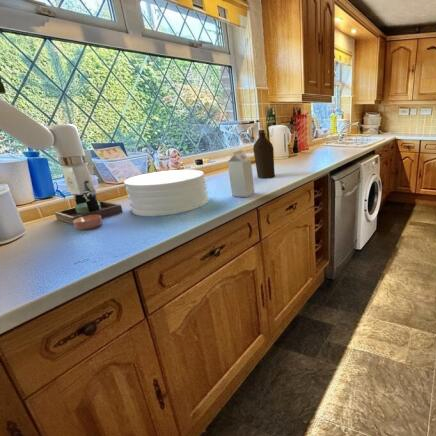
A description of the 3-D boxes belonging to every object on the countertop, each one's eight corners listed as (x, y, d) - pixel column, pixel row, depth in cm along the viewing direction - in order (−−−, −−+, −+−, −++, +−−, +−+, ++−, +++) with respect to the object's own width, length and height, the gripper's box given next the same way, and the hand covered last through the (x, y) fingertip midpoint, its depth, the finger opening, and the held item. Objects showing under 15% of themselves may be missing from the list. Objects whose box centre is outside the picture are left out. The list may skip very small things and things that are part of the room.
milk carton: (232, 196, 130) (225, 152, 124) (240, 192, 137) (234, 149, 130) (247, 197, 128) (241, 152, 122) (254, 193, 135) (249, 149, 128)
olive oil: (278, 177, 165) (274, 129, 157) (259, 179, 161) (253, 131, 152) (272, 173, 174) (268, 128, 166) (254, 176, 170) (249, 130, 161)
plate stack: (222, 200, 125) (218, 173, 121) (155, 221, 104) (147, 188, 100) (184, 192, 140) (179, 167, 136) (118, 208, 119) (110, 180, 115)
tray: (74, 225, 102) (72, 217, 101) (56, 219, 108) (54, 212, 107) (122, 211, 115) (120, 204, 114) (104, 207, 121) (102, 200, 120)
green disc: (83, 216, 106) (80, 208, 105) (73, 213, 110) (70, 205, 109) (105, 210, 112) (103, 202, 111) (95, 207, 116) (93, 200, 115)
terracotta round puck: (82, 232, 96) (79, 223, 95) (71, 228, 99) (68, 220, 98) (107, 224, 102) (105, 216, 101) (96, 221, 105) (94, 213, 104)
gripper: (49, 161, 106) (65, 209, 112) (72, 164, 97) (89, 215, 104) (74, 158, 112) (88, 203, 118) (98, 160, 104) (112, 209, 110)
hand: (88, 209), depth 111 cm, fingers closed on green disc, 7 cm apart
